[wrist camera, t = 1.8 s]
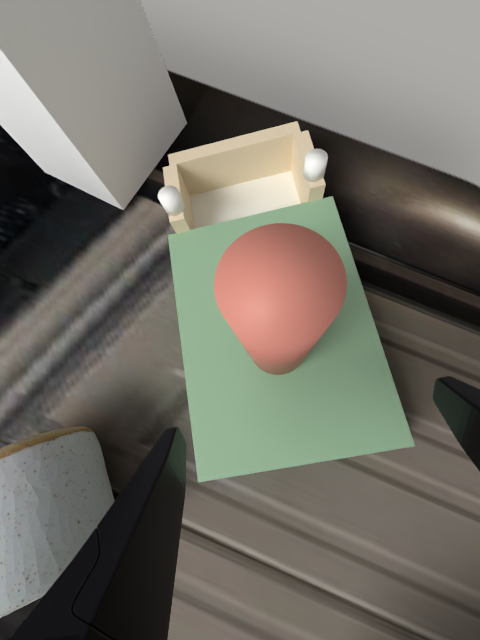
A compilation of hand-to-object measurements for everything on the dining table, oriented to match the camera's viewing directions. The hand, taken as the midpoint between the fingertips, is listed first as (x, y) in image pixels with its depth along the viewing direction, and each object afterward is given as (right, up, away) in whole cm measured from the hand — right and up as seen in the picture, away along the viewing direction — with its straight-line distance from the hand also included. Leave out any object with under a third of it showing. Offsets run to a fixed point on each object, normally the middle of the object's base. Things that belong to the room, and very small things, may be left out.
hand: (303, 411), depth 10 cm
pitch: (0, +2, +13) cm, 13 cm away
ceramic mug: (-15, -11, +12) cm, 22 cm away
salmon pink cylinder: (0, +1, +10) cm, 10 cm away
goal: (-2, +14, +16) cm, 21 cm away
